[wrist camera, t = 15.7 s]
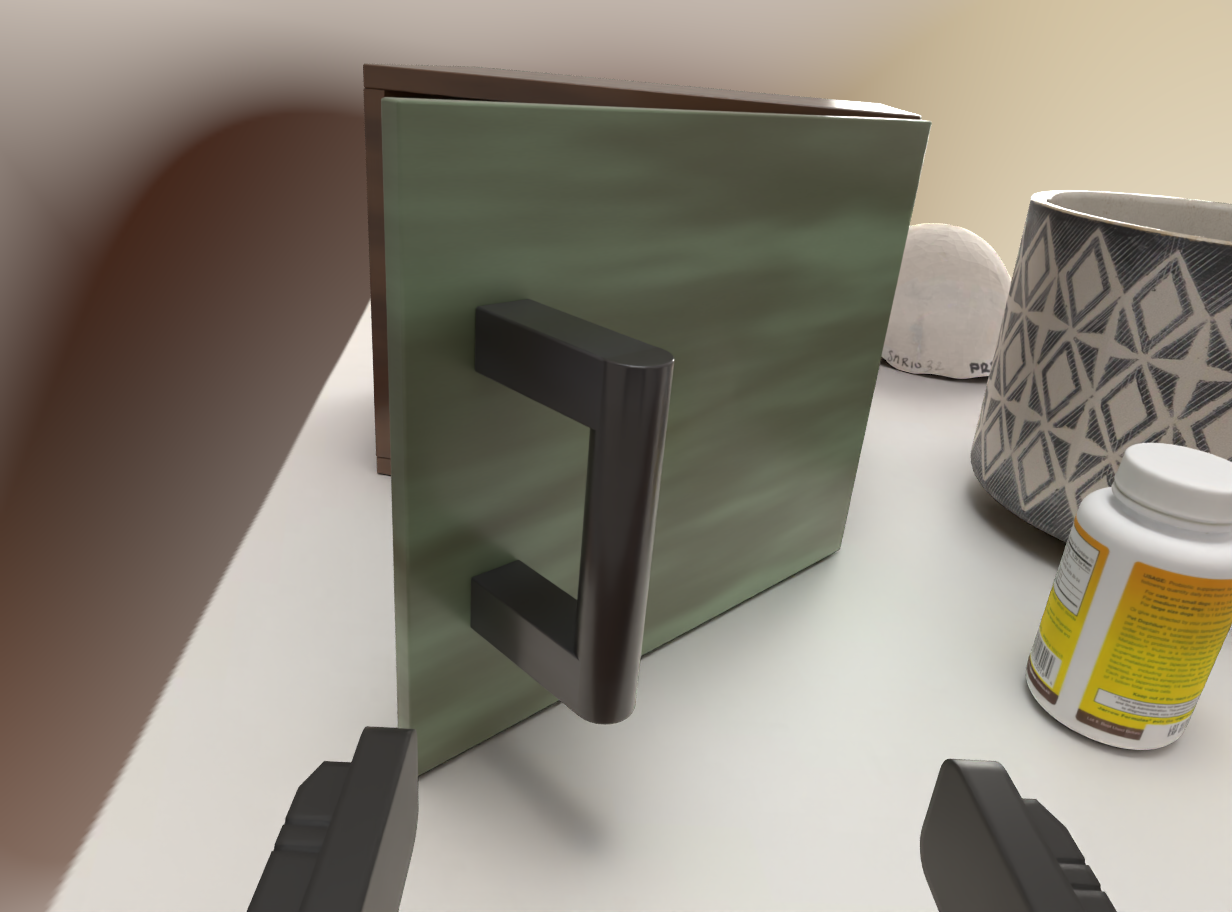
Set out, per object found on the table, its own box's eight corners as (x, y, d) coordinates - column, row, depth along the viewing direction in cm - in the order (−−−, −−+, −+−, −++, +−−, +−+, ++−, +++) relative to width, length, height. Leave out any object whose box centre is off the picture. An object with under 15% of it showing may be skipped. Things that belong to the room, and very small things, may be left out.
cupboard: (832, 542, 44) (922, 115, 36) (376, 473, 47) (362, 63, 38) (818, 426, 58) (880, 103, 50) (471, 379, 61) (475, 66, 53)
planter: (1295, 499, 53) (1418, 225, 47) (1413, 677, 37) (1629, 294, 30) (965, 430, 60) (1031, 180, 53) (942, 555, 44) (1033, 217, 37)
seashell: (904, 398, 86) (838, 260, 85) (1051, 339, 79) (980, 187, 78) (871, 443, 74) (793, 282, 73) (1042, 378, 66) (958, 197, 65)
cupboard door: (952, 605, 39) (1085, 138, 31) (529, 910, 23) (575, 130, 15) (826, 542, 43) (914, 119, 35) (397, 766, 28) (379, 96, 20)
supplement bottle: (1212, 733, 33) (1325, 488, 28) (1119, 776, 30) (1229, 515, 26) (1079, 647, 37) (1161, 424, 33) (989, 679, 35) (1065, 442, 30)
